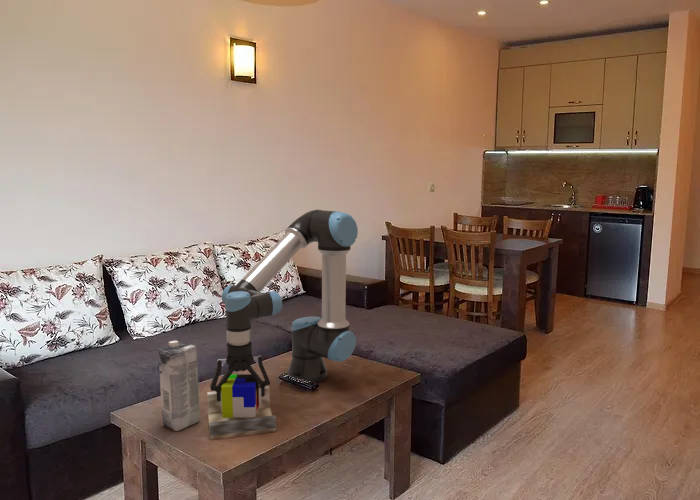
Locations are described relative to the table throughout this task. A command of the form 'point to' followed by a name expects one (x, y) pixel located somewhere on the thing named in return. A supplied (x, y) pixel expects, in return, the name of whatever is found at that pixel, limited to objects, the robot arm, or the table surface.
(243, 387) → the puzzle toy
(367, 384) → the table surface
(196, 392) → the juice carton
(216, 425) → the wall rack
